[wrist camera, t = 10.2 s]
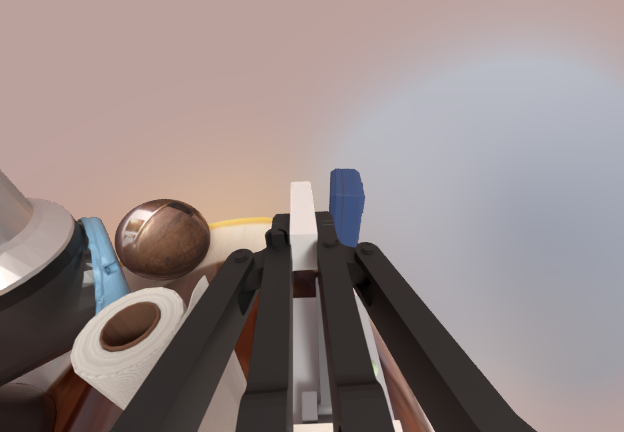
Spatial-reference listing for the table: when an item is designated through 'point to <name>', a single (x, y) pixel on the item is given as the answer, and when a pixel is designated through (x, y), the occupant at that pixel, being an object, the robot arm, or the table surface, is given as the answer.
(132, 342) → the paper towel roll
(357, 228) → the electronic device
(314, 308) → the board
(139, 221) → the wooden sphere
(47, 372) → the table surface
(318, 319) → the breaker lever
